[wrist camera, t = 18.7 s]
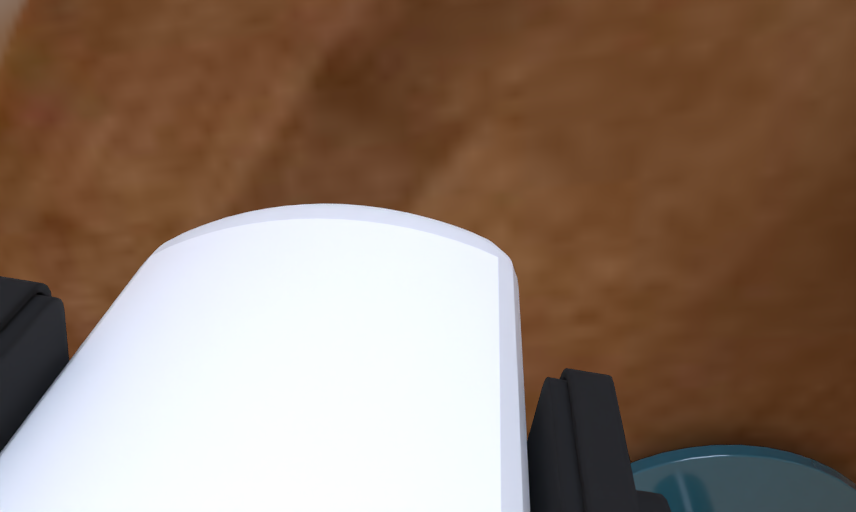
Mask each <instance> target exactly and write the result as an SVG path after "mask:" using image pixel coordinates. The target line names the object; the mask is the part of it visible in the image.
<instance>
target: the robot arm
mask: <svg viewBox="0 0 856 512" xmlns="http://www.w3.org/2000/svg"><path fill="white" fill-rule="evenodd" d="M68 362H69V355H68V344H67V333H66V323H65V312H64V306H63V302H62V301H61V299H59V298H56V297H52V296H51V291H50V290H49V288H48V286H47V285H45V284H43V283H38V282H32V281H26V280H19V279H13V278H7V277H1V276H0V453H1V451H2V450H3V449H4V447H5V446H6V445H7V443H8V442H9V441H10V439H11V438H12V437H13V435H14V434H15V433H16V431H17V430H18V429H19V427H20V426H21V425H22V423H23V422H24V421H25V419H26V418H27V417H28V415H29V414H30V413H31V411H32V410H33V409H34V407H35V406H36V404H37V403H38V402H39V401H40V399H41V398H42V397H43V395H44V394H45V393H46V391H47V390H48V389H49V387H50V386H51V385H52V383H53V382H54V381H55V379H56V378H57V377H58V375H59V374H60V373H61V371H62V370H63V369H64V367H65V366H66V365H67V364H68ZM527 455H528V475H529V495H530V512H671V509H670V507H669V504H668V501H667V499H666V498H665V497H664V496H663V495H662V494H659V493H653V492H646V491H640V490H636V488H635V483H634V478H633V473H632V469H631V464H630V459H629V454H628V449H627V445H626V440H625V435H624V430H623V425H622V421H621V416H620V411H619V406H618V402H617V397H616V392H615V387H614V383H613V380H612V377H611V376H609V375H604V374H598V373H592V372H586V371H580V370H574V369H568V368H566V369H564V371H563V372H562V374H561V377H560V379H555V378H549V377H547V378H546V379H545V381H544V384H543V387H542V390H541V394H540V398H539V401H538V405H537V408H536V412H535V415H534V419H533V423H532V426H531V430H530V433H529V437H528V440H527Z"/></svg>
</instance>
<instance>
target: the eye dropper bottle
mask: <svg viewBox="0 0 856 512" xmlns="http://www.w3.org/2000/svg"><path fill="white" fill-rule="evenodd" d="M0 512H530V495H529V475H528V455H527V434H526V415H525V397H524V378H523V360H522V341H521V323H520V306H519V288H518V281H517V276H516V273H515V270H514V267H513V264H512V262H511V260H510V258H509V257H508V256H507V255H506V254H505V253H504V252H503V251H502V250H501V249H499V248H498V247H497V246H496V245H495V244H494V243H492V242H491V241H490V240H488V239H486V238H483V237H481V236H479V235H477V234H475V233H472V232H470V231H468V230H465V229H462V228H459V227H456V226H453V225H451V224H447V223H444V222H441V221H437V220H434V219H431V218H427V217H423V216H419V215H415V214H411V213H406V212H401V211H396V210H390V209H385V208H378V207H370V206H362V205H349V204H303V205H291V206H281V207H274V208H267V209H261V210H256V211H251V212H246V213H242V214H238V215H234V216H230V217H226V218H223V219H220V220H217V221H214V222H211V223H208V224H205V225H202V226H200V227H197V228H195V229H192V230H190V231H187V232H185V233H183V234H181V235H179V236H177V237H175V238H173V239H171V240H169V241H167V242H166V243H164V244H162V245H161V246H160V247H159V248H157V250H156V251H155V252H154V253H153V254H152V255H151V256H150V257H149V258H148V259H147V260H146V261H145V263H144V264H143V265H142V266H141V267H140V269H139V270H138V271H137V273H136V274H135V275H134V276H133V278H132V279H131V280H130V282H129V283H128V284H127V286H126V287H125V288H124V290H123V291H122V292H121V294H120V295H119V296H118V297H117V299H116V300H115V301H114V303H113V304H112V305H111V307H110V308H109V309H108V311H107V312H106V313H105V315H104V316H103V317H102V319H101V320H100V321H99V323H98V324H97V325H96V326H95V328H94V329H93V330H92V332H91V333H90V334H89V336H88V337H87V338H86V340H85V341H84V342H83V344H82V345H81V346H80V348H79V349H78V350H77V352H76V353H75V354H74V356H73V357H72V358H71V359H70V361H69V362H68V364H67V365H66V366H65V367H64V369H63V370H62V371H61V373H60V374H59V375H58V377H57V378H56V379H55V381H54V382H53V383H52V385H51V386H50V387H49V389H48V390H47V391H46V393H45V394H44V395H43V397H42V398H41V399H40V401H39V402H38V403H37V404H36V406H35V407H34V409H33V410H32V411H31V413H30V414H29V415H28V417H27V418H26V419H25V421H24V422H23V423H22V425H21V426H20V427H19V429H18V430H17V431H16V433H15V434H14V435H13V437H12V438H11V439H10V441H9V442H8V443H7V445H6V446H5V447H4V449H3V450H2V451H1V453H0Z"/></svg>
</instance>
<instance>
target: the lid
mask: <svg viewBox="0 0 856 512" xmlns="http://www.w3.org/2000/svg"><path fill="white" fill-rule="evenodd" d="M630 464H631V469H632V473H633V478H634V483H635V488H636V490H640V491H646V492H653V493H659V494H662V495H663V496H664V497H665V498H666V499H667V501H668V504H669V507H670V509H671V512H856V484H854V483H853V482H852V481H851V480H850V479H848V478H846V477H845V476H843V475H842V474H840V473H839V472H837V471H836V470H834V469H833V468H830V467H828V466H826V465H824V464H822V463H820V462H818V461H815V460H813V459H811V458H807V457H804V456H801V455H798V454H795V453H792V452H788V451H783V450H778V449H773V448H768V447H761V446H750V445H707V446H697V447H688V448H683V449H678V450H673V451H668V452H663V453H660V454H656V455H653V456H650V457H646V458H643V459H640V460H637V461H635V462H632V463H630Z"/></svg>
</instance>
